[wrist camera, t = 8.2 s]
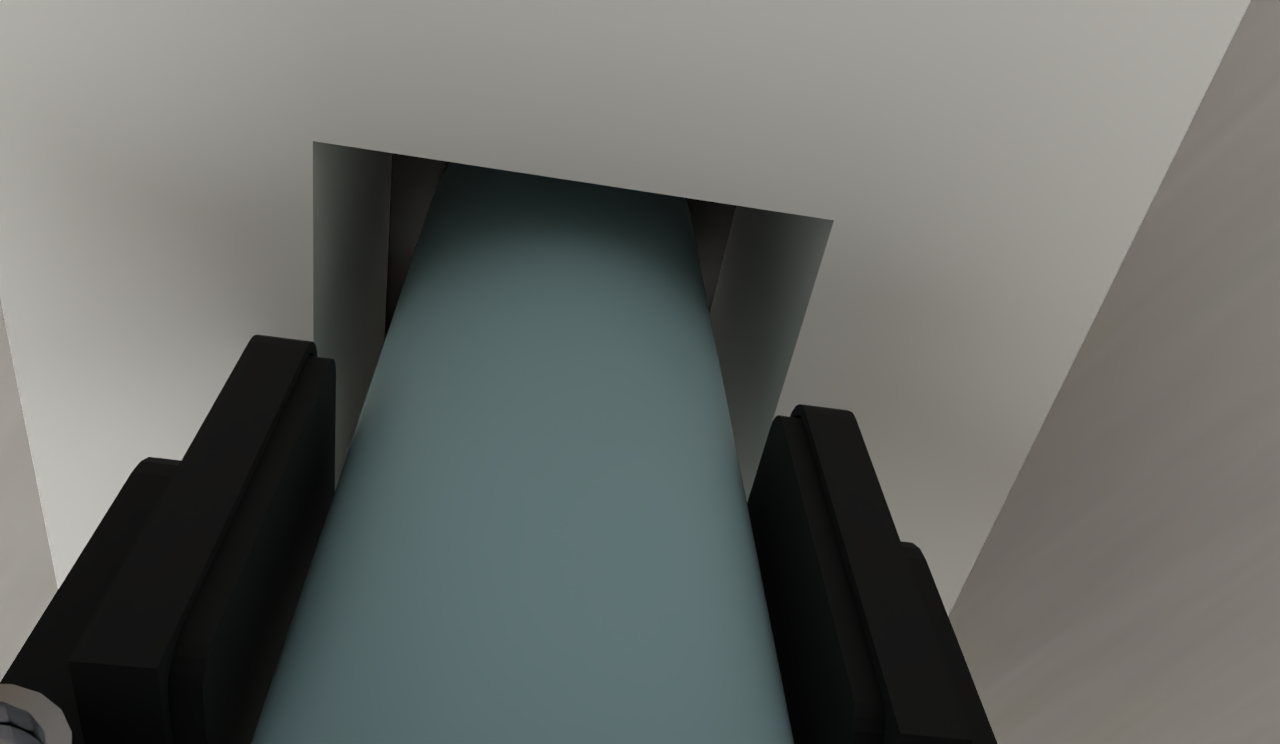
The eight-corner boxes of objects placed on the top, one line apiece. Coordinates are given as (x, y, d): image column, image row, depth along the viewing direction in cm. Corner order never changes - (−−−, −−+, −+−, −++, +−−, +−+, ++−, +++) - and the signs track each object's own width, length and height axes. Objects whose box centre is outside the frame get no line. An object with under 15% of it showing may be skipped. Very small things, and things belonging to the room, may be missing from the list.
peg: (717, 134, 14) (1265, 1976, 3) (665, 364, 16) (843, 1943, 5) (437, 90, 14) (-409, 2131, 2) (420, 334, 16) (-49, 2021, 4)
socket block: (1065, -124, 13) (1276, -53, 9) (822, 535, 20) (881, 752, 16) (129, -314, 12) (-124, -329, 8) (196, 465, 18) (77, 685, 14)
